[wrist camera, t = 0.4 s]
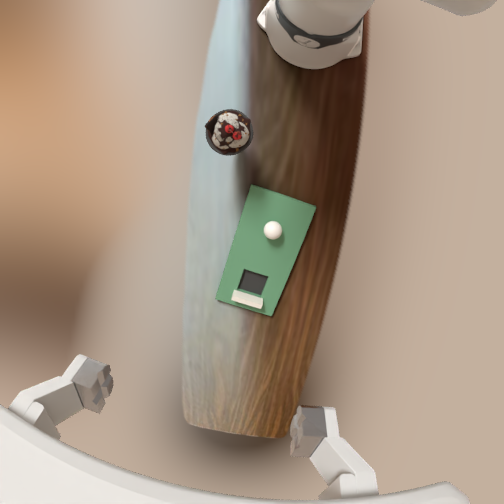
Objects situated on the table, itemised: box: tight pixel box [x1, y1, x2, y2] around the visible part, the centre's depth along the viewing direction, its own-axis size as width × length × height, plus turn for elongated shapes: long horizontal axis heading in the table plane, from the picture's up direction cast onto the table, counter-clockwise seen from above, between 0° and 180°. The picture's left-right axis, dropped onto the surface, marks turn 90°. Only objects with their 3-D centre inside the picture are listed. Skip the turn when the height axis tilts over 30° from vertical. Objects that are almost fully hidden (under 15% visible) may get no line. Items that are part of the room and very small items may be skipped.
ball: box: [264, 221, 282, 240], centre depth 51 cm, size 3×3×3 cm
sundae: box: [205, 109, 253, 155], centre depth 41 cm, size 7×7×15 cm
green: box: [215, 184, 316, 316], centre depth 54 cm, size 24×12×4 cm, turn 162°
